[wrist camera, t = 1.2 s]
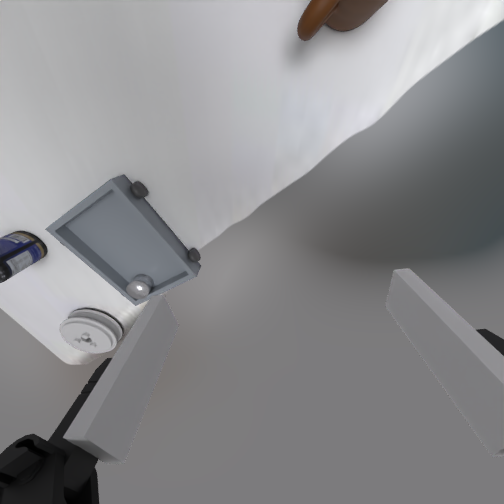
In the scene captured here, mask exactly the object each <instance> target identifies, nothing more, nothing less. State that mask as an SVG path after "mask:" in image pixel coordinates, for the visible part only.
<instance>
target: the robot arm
mask: <svg viewBox="0 0 504 504" xmlns="http://www.w3.org/2000/svg"><path fill="white" fill-rule="evenodd" d="M385 307H386V308H387V310H388V311H389V313H390V314H391V315H392V317H393V318H394V320H395V321H396V323H397V324H398V325H399V327H400V328H401V330H402V331H403V332H404V334H405V335H406V337H407V338H408V339H409V341H410V342H411V344H412V345H413V346H414V348H415V349H416V351H417V352H418V353H419V355H420V356H421V358H422V359H423V360H424V362H425V363H426V365H427V366H428V367H429V369H430V370H431V372H432V373H433V374H434V376H435V377H436V379H437V380H438V381H439V383H440V384H441V386H442V387H443V389H444V390H445V391H446V393H447V394H448V396H449V397H450V398H451V400H452V401H453V403H454V404H455V405H456V407H457V408H458V409H459V411H460V412H461V414H462V415H463V416H464V418H465V419H466V421H467V422H468V424H469V425H470V426H471V428H472V429H473V431H474V432H475V433H476V435H477V436H478V437H479V439H480V440H481V442H482V443H483V445H484V446H485V447H486V449H487V450H488V452H489V453H490V454H491V456H492V457H504V339H502V338H500V337H499V336H497V335H495V334H493V333H492V332H490V331H488V330H486V329H480V330H475V329H474V328H473V327H471V325H470V324H468V323H467V322H466V321H465V320H464V319H463V318H462V317H461V316H460V315H459V314H458V313H457V312H456V311H454V310H453V309H452V308H451V307H450V306H449V305H448V304H447V303H446V302H445V301H444V300H443V299H441V298H440V297H439V296H438V295H437V294H436V293H435V292H434V291H433V290H432V289H431V288H429V286H428V285H426V284H425V283H424V282H423V281H422V280H421V279H420V278H419V277H418V276H417V275H416V274H415V273H414V272H413V271H411V270H410V269H409V268H408V269H399V270H394V272H393V276H392V280H391V284H390V288H389V292H388V296H387V300H386V304H385ZM178 327H179V324H178V322H177V320H176V318H175V316H174V314H173V312H172V310H171V308H170V306H169V304H168V302H167V300H166V298H165V296H164V295H155V296H151V298H150V300H149V301H148V303H147V304H146V306H145V307H144V309H143V311H142V312H141V314H140V315H139V317H138V319H137V320H136V322H135V323H134V325H133V327H132V328H131V330H130V331H129V333H128V335H127V336H126V338H125V339H124V341H123V343H122V344H121V346H120V347H119V349H118V350H117V352H116V354H115V355H114V357H113V358H107V359H106V360H105V361H104V362H103V363H102V364H101V365H100V366H99V367H98V368H97V369H96V370H95V372H94V373H93V375H92V376H91V378H90V379H89V381H88V384H86V385H85V387H84V388H83V390H82V392H81V394H80V395H79V396H78V397H77V399H76V400H75V402H74V403H73V405H72V406H71V408H70V409H69V411H68V412H67V414H66V415H65V417H64V418H63V420H62V421H61V423H60V425H59V426H58V427H57V429H56V430H55V432H54V433H53V435H52V436H51V437H50V439H49V440H48V441H46V440H44V439H42V438H41V437H39V436H37V435H35V434H30V435H26V436H24V437H22V438H20V439H18V440H16V441H15V442H14V443H13V444H11V445H10V446H9V447H7V448H6V449H5V450H4V451H3V452H2V453H1V454H0V504H99V493H98V479H97V472H96V469H95V468H94V467H95V465H96V463H97V461H98V459H99V460H101V461H102V462H104V463H106V464H123V463H124V462H125V460H126V457H127V455H128V453H129V450H130V447H131V445H132V442H133V440H134V437H135V435H136V432H137V430H138V427H139V425H140V422H141V420H142V417H143V415H144V412H145V410H146V407H147V405H148V402H149V399H150V397H151V395H152V392H153V390H154V387H155V384H156V382H157V379H158V377H159V374H160V372H161V369H162V367H163V364H164V362H165V359H166V357H167V354H168V352H169V349H170V346H171V344H172V342H173V339H174V337H175V334H176V332H177V329H178Z"/></svg>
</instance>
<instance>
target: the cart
mask: <svg viewBox="0 0 504 504" xmlns="http://www.w3.org/2000/svg"><path fill="white" fill-rule="evenodd" d="M146 195H148V191H147V189H146V187H145V186H144V185H143V184H142V183H140V182H137V181H136V182H134V183H133V184H132V183H131V182H130V181H129V180H128V178H127V177H126V176H125V175H122V176H119V177H116V178H113V179H110V180H109V181H108V182H106V183H105V184H104V185H103V186H101V187H100V188H99V189H97V190H96V191H95V192H93V193H92V194H91V195H89V196H88V197H87V198H85V199H84V200H83V201H81V202H80V203H79V204H78V205H76V206H75V207H74V208H72V209H71V210H70V211H68V212H67V213H66V214H64V215H63V216H62V217H60V218H59V219H58V220H56V221H55V222H54V223H52V224H51V225H50V226H49V227H47V228H46V230H47V231H48V232H49V233H50V234H51V235H53V236H54V237H55V238H56V239H57V240H59V241H60V243H61V244H63V245H64V246H66V247H67V248H68V249H69V250H70V251H71V252H73V253H74V254H75V255H76V256H77V257H79V258H80V259H81V260H82V261H83V262H84V263H86V264H87V265H88V266H89V267H90V268H92V269H93V270H94V271H95V272H96V273H97V274H99V275H100V276H101V277H102V278H103V279H105V280H106V281H107V282H108V283H109V284H110V285H112V286H113V287H114V288H115V289H116V290H118V291H119V292H120V293H121V294H122V295H123V296H125V297H126V298H127V299H128V300H129V301H131V302H132V303H133V304H134V305H135V306H136V305H139V304H141V303H143V302H145V301H147V300H149V299H150V298H151V296H155V295H159V294H161V293H163V292H165V291H168V290H170V289H172V288H174V287H176V286H178V285H180V284H182V283H184V282H186V281H188V280H190V279H192V278H194V277H196V276H197V274H198V272H199V270H200V267H201V265H200V264H199V263H198V261H199V260H200V254H199V252H198V251H197V250H196V249H192V250H190V251H188V249H187V248H186V247H185V246H184V245H183V243H182V242H181V241H180V240H179V239H178V238H177V236H176V235H175V234H174V233H173V232H172V230H171V229H170V228H169V227H168V226H167V225H166V223H165V222H164V221H163V220H162V219H161V217H160V216H159V215H158V214H157V213H156V211H155V210H154V209H153V208H152V207H151V206H150V204H149V203H148V202H147V201H146V200H145V198H144V197H145V196H146ZM138 274H145V275H148V276H150V277H151V278H152V279H153V281H154V286H153V288H152V289H151V291H150V292H149V294H148V295H147V297H146V298H144V299H136V298H133V297H131V296H130V295H129V294H128V293H127V291H126V287H127V286H128V285H129V283H130V282H131V281H132V280H133V279H134V277H135V276H136V275H138Z"/></svg>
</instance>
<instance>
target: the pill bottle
mask: <svg viewBox="0 0 504 504" xmlns="http://www.w3.org/2000/svg"><path fill="white" fill-rule="evenodd" d="M46 251H47V250H46V247H45V245H44V244H43V242H42V241H40V240H39V239H38V238H37V237H35V236H34V235H32V234H30V233H27V232H22V231H17V232H13V233H11V234H8V235H6V236H4V237H2V238H0V283H2V282H4V281H6V280H7V279H9V278H11V277H12V276H14V275H15V274H17V273H19V272H20V271H22V270H24V269H25V268H27V267H28V266H30V265H32V264H33V263H35V262H37V261H38V260H40V259H41V258H43V257H44V256H45V255H46Z"/></svg>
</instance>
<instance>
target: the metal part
mask: <svg viewBox="0 0 504 504" xmlns="http://www.w3.org/2000/svg"><path fill="white" fill-rule="evenodd" d="M153 286H154V281H153V279H152V278H151V277H150V276H148V275H145V274H138V275H136V276H135V277H134V279H133V280H132V281H131V282H130V283H129V285H128V286H127V287H126V291H127V293H128V294H129V295H130V296H131V297H133V298H136V299H144V298H146V297H147V295H148V294H149V292H150V291H151V289H152V288H153Z"/></svg>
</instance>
